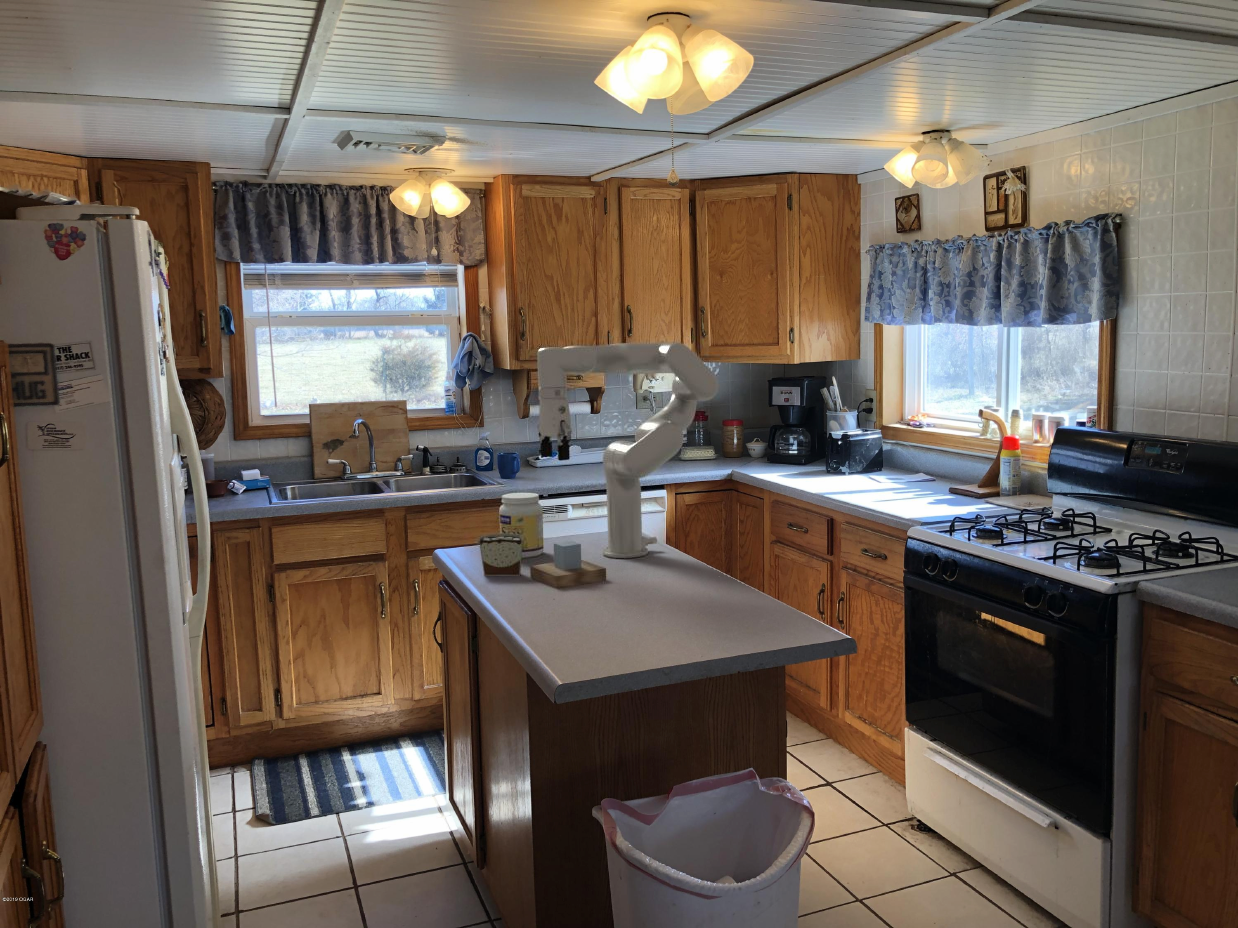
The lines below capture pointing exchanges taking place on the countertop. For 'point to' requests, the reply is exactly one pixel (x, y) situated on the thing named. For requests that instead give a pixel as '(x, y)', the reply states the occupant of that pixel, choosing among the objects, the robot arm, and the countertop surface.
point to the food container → (501, 554)
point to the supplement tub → (523, 521)
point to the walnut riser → (567, 574)
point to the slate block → (567, 555)
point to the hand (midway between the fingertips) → (555, 458)
